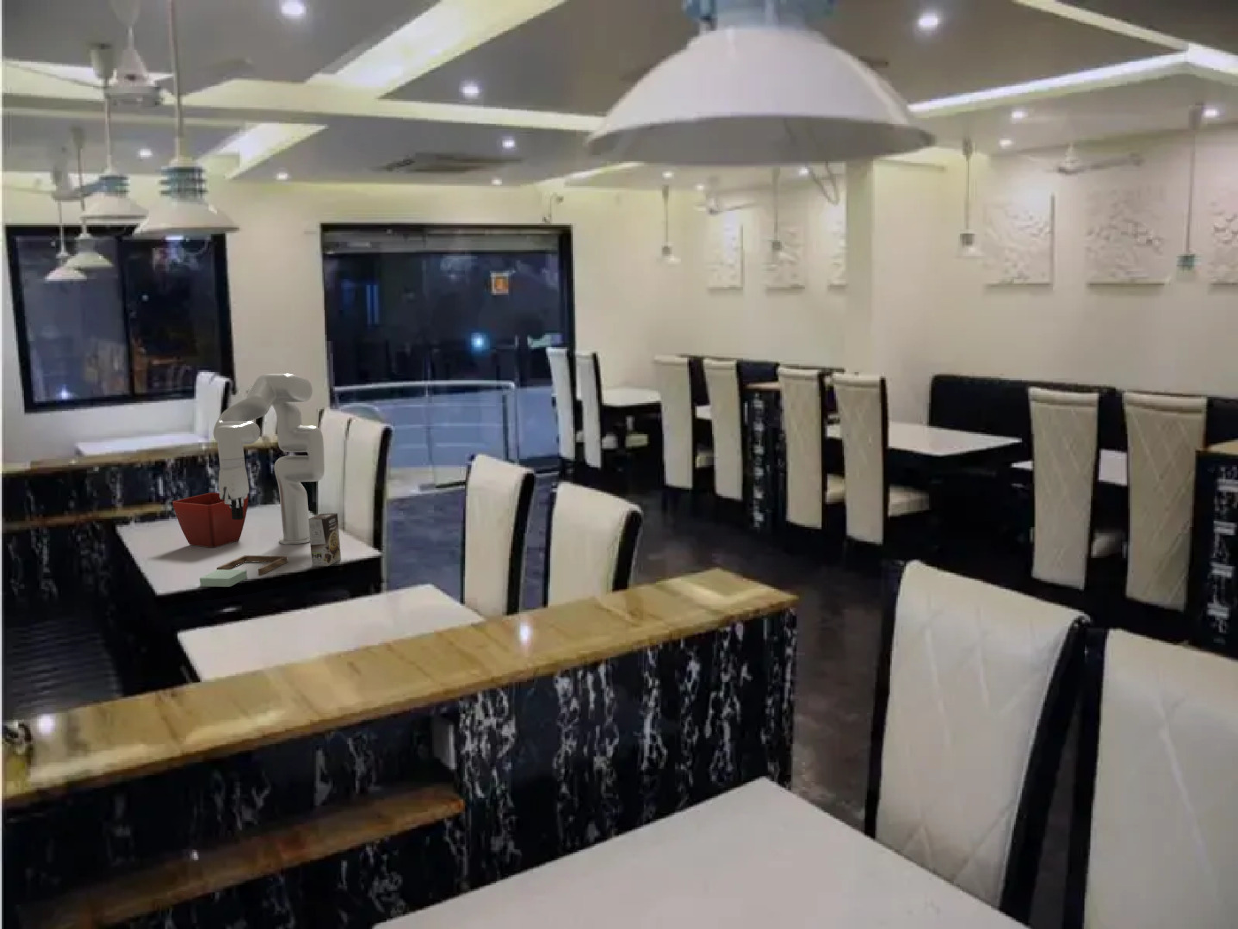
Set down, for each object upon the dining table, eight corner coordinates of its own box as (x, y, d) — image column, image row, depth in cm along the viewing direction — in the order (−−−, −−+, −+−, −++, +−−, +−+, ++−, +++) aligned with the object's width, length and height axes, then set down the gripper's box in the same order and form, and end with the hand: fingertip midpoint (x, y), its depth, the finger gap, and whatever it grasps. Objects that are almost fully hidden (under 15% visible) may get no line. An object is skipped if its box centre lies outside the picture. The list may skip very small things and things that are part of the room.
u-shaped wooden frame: (245, 560, 343) (244, 555, 342) (287, 562, 339) (287, 556, 339) (217, 573, 327) (216, 567, 327) (261, 575, 324) (260, 569, 324)
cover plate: (218, 578, 323) (217, 569, 323) (247, 579, 321) (246, 570, 321) (200, 587, 313) (199, 578, 313) (229, 588, 312) (228, 578, 311)
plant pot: (253, 539, 375) (249, 494, 372) (214, 551, 358) (209, 505, 355) (216, 535, 383) (211, 492, 380) (175, 547, 366) (170, 501, 363)
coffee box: (329, 566, 332) (325, 518, 330) (311, 566, 334) (307, 518, 331) (341, 559, 341) (338, 512, 338) (324, 558, 342) (320, 512, 340)
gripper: (235, 459, 330) (240, 513, 333) (207, 467, 315) (213, 524, 319) (255, 459, 328) (261, 514, 331) (229, 467, 314) (235, 524, 317)
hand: (238, 519), depth 325 cm, fingers closed
